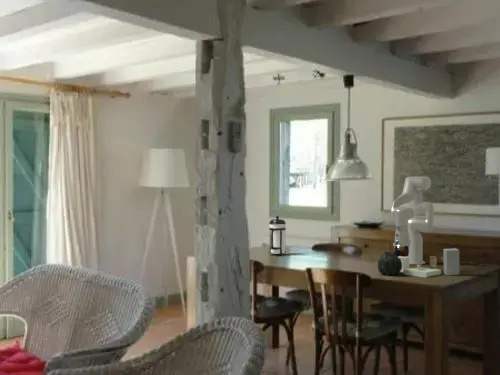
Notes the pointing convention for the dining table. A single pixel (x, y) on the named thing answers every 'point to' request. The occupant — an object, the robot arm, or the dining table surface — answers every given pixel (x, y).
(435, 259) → the peg
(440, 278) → the dining table surface
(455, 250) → the skincare box
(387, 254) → the squash
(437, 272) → the peg board
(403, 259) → the block
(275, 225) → the coffee press
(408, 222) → the robot arm
